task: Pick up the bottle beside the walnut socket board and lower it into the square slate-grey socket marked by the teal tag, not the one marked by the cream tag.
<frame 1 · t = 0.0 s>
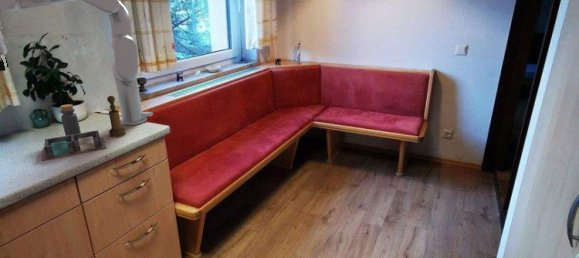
hand: (2, 69, 140), 31 cm above the countertop, tool pointing down, fingers open, 9 cm apart
bottle: (74, 138, 153), on the countertop
socket block: (75, 148, 141), on the countertop
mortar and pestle: (118, 135, 156), on the countertop
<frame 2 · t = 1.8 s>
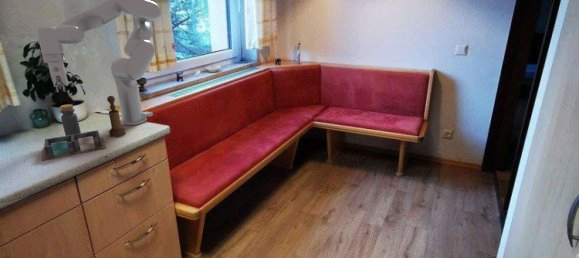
hand: (63, 98, 146), 18 cm above the countertop, tool pointing down, fingers open, 9 cm apart
nothing on the countertop moved.
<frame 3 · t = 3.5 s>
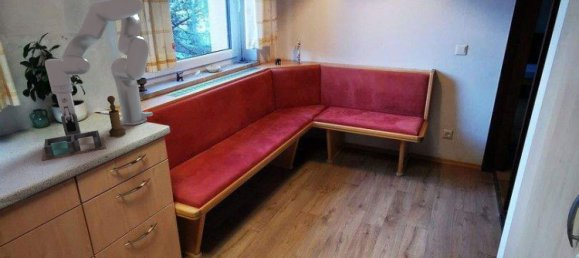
hand: (71, 128, 151), 5 cm above the countertop, tool pointing down, fingers closed on bottle, 5 cm apart
bottle: (74, 138, 153), on the countertop, touching gripper
everything else where it was.
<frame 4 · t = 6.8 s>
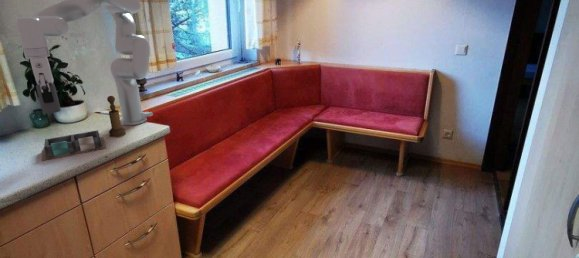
hand: (49, 100, 132), 21 cm above the countertop, tool pointing down, fingers closed on bottle, 5 cm apart
bottle: (52, 112, 134), point 16 cm above the countertop, touching gripper
everything else where it was.
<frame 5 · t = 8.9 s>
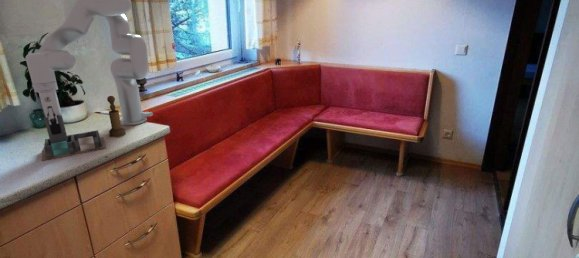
hand: (56, 130, 136), 9 cm above the countertop, tool pointing down, fingers closed on bottle, 5 cm apart
bottle: (59, 142, 138), point 4 cm above the countertop, touching gripper
everything else where it was.
when the fingers open (6 cm above the countertop, at t = 10.3 s): bottle drops 1 cm, resting on socket block.
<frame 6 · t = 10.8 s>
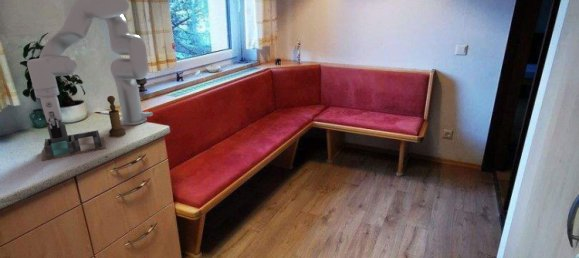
hand: (57, 133, 136), 7 cm above the countertop, tool pointing down, fingers open, 9 cm apart
bottle: (62, 149, 139), resting on socket block
everything else where it was.
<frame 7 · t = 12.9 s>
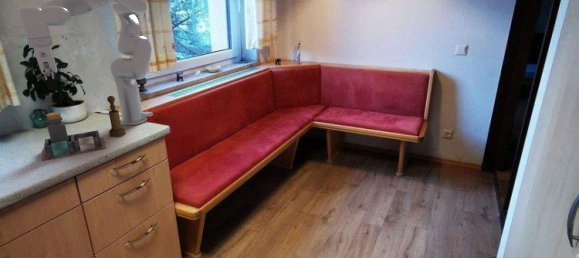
hand: (53, 87, 135), 25 cm above the countertop, tool pointing down, fingers open, 9 cm apart
nothing on the countertop moved.
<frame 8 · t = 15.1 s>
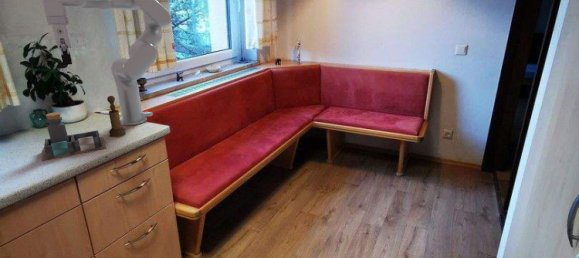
hand: (67, 62, 147), 32 cm above the countertop, tool pointing down, fingers open, 9 cm apart
nothing on the countertop moved.
at the end: bottle 0.3 cm from the target spot on the socket block, point 0.4 cm above the socket block's base; bottle tilted 0°; the gripper is holding nothing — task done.
